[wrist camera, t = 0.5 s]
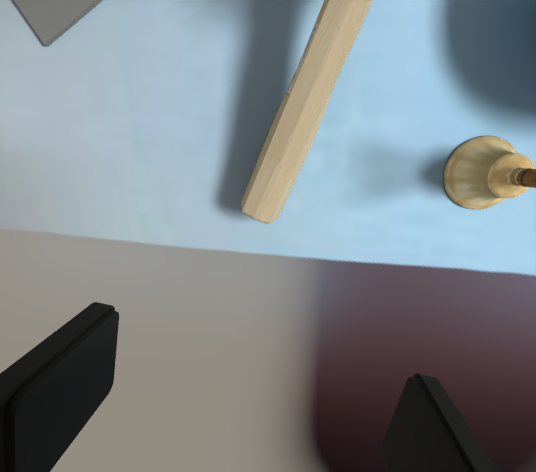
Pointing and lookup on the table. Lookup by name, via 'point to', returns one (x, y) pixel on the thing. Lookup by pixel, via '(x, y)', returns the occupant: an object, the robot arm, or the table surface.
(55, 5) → the floor section
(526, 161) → the hand bell
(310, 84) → the hammer
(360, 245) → the table surface
